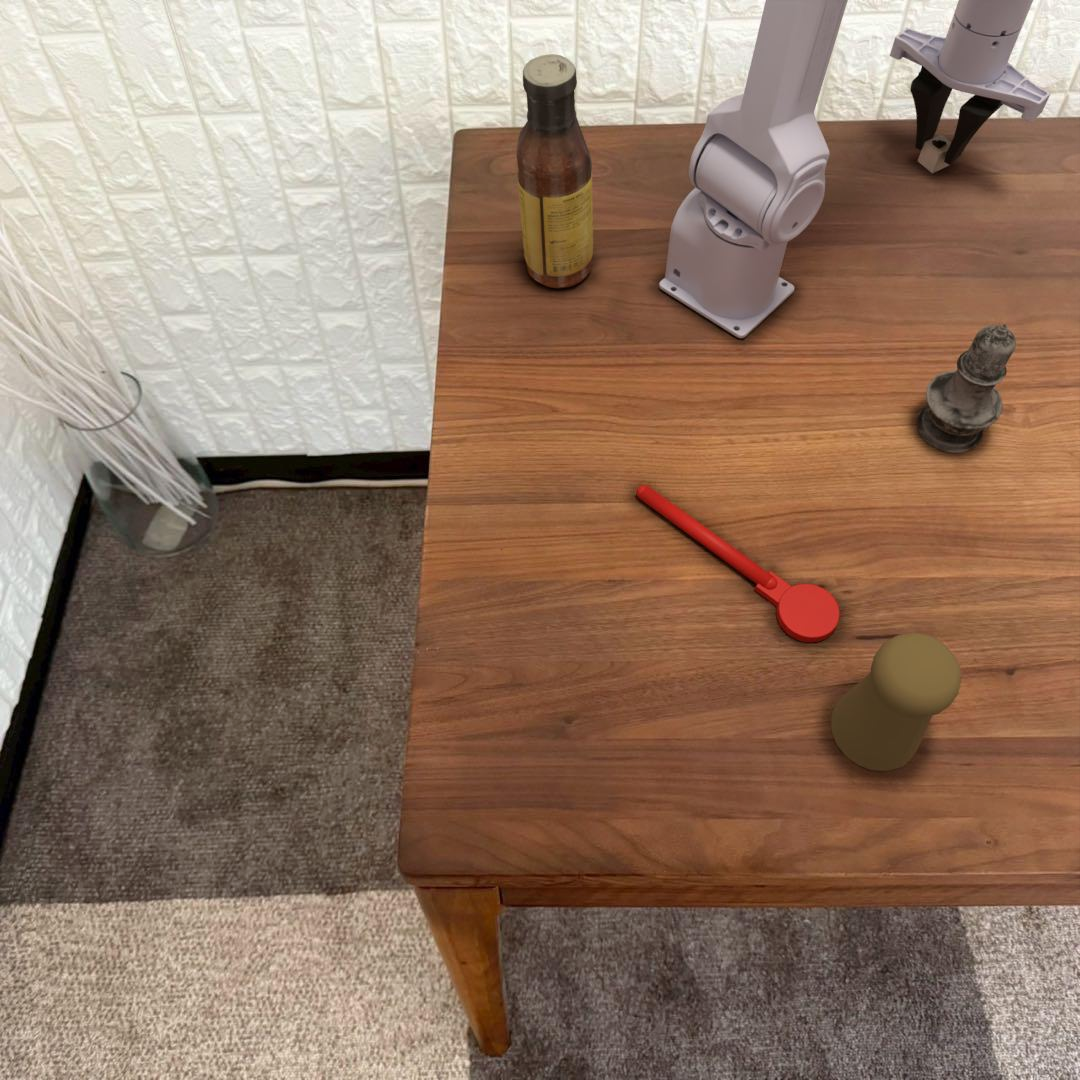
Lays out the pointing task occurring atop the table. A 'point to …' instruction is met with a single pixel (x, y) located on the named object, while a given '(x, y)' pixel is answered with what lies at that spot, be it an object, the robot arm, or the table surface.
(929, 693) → the cork
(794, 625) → the spoon
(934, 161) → the cube with dark pebbles
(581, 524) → the table surface
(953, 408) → the chess piece
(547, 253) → the sauce bottle
